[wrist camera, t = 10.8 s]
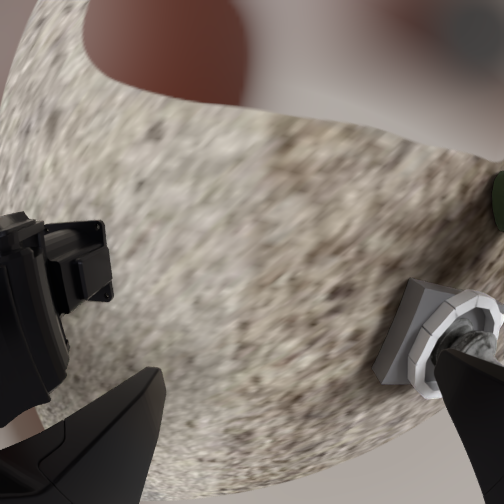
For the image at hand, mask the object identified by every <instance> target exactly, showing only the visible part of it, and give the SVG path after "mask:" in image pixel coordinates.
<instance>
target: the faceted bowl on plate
mask: <svg viewBox="0 0 504 504" xmlns="http://www.w3.org/2000/svg"><path fill="white" fill-rule="evenodd" d="M503 314H504V304H502V303H501V302H499V301H498V300H496V299H494V298H493V297H491V296H489V295H487V294H486V293H483V292H479V291H476V290H472V289H466V290H465V291H464V290H460V289H456V288H452V287H448V286H443V285H439V284H435V283H431V282H426V281H422V280H418V279H414V278H409V281H408V284H407V287H406V290H405V292H404V295H403V298H402V300H401V303H400V305H399V308H398V311H397V313H396V316H395V318H394V320H393V323H392V325H391V327H390V330H389V332H388V334H387V337H386V339H385V341H384V343H383V346H382V348H381V350H380V352H379V354H378V356H377V358H376V360H375V362H374V364H373V366H372V370H373V371H374V373H375V375H376V376H377V378H378V380H379V381H380V383H381V384H412V386H413V387H414V388H415V390H416V391H418V392H419V393H420V394H421V395H422V396H423V397H424V398H425V399H436V398H442V395H441V392H440V390H439V387H438V385H437V382H436V380H435V377H434V368H435V366H434V365H433V364H432V361H431V352H432V350H433V348H434V346H435V344H436V342H437V340H438V338H439V337H440V336H441V335H442V334H443V333H444V332H445V330H446V329H447V328H448V327H449V326H450V325H451V324H452V323H453V321H455V320H457V319H460V318H467V319H469V320H470V321H471V322H472V324H473V328H474V330H477V331H484V332H491V333H493V334H494V335H495V336H496V339H498V335H499V329H500V327H501V326H502V324H503V322H504V315H503Z"/></svg>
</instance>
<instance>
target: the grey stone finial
mask: <svg viewBox="0 0 504 504" xmlns="http://www.w3.org/2000/svg"><path fill="white" fill-rule="evenodd" d="M448 348H453V349H455V350H458V351H461V352H464V353H466V354H469V355H472V356H475V357H477V358H480V359H483V360H486V361H488V362H491V363H494V364H497V365H500V366H502V367H504V366H503V365H502V364H501V363H500V362H498V361H497V359H496V358H495V356H494V355H495V353H496V348H497V339H496V336H495V335H494V334H493V333H491V332H484V331H477V330H474V328H473V324H472V322H471V321H470V320H469V319H467V318H460V319H457V320H455V321H453V323H452V324H451V325H450V326H449V327H448V328H447V329H446V330H445V332H444V333H443V334H442V335H441V336H440V337H439V338H438V340H437V342H436V344H435V346H434V348H433V350H432V352H431V361H432V364H433V365H434V366H435V365H436V362H437V359H438V357H439V354H440V352H441V351H442V350H444V349H448Z"/></svg>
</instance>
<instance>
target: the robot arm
mask: <svg viewBox="0 0 504 504" xmlns="http://www.w3.org/2000/svg"><path fill="white" fill-rule="evenodd" d="M97 224H98V225H99V226H100V229H98V228H97ZM47 228H48V231H47ZM111 280H112V272H111V265H110V257H109V249H108V247H107V243H106V234H105V225H104V223H103V221H101V220H88V221H74V222H61V223H49V224H45V225H44V221H36V219H29V218H28V217H27V215H26V214H25V213H24V211H23V212H17V213H12V214H8V215H4V216H0V428H3V427H4V426H6V425H7V424H8V423H9V422H10V421H12V420H13V419H14V418H15V417H17V416H18V415H20V414H21V413H22V412H24V411H26V410H28V409H30V408H32V407H34V406H37V405H41V404H45V403H48V402H50V401H51V398H50V396H49V394H50V393H51V392H52V391H53V390H54V389H56V388H57V387H58V386H59V385H60V384H61V383H62V382H63V381H64V379H65V378H66V376H67V374H66V371H65V370H66V369H67V366H68V362H69V355H68V352H69V349H70V345H69V342H68V340H67V339H66V337H65V333H64V330H63V327H62V323H61V319H60V318H61V317H62V316H64V315H65V314H69V313H70V312H72V311H73V310H74V309H75V308H76V307H78V306H79V305H80V304H81V303H82V302H84V301H85V300H88V301H102V302H110V301H111V300H112V299H113V297H114V293H113V287H112V281H111ZM106 293H107V294H108V295H109V297H107V295H106ZM434 377H435V380H436V382H437V385H438V387H439V390H440V392H441V395H442V398H443V400H444V403H445V406H446V408H447V410H448V413H449V415H450V417H451V419H452V421H453V423H454V425H455V427H456V429H457V432H458V434H459V436H460V438H461V441H462V443H463V445H464V447H465V450H466V452H467V455H468V457H469V459H470V462H471V464H472V467H473V469H474V472H475V475H476V477H477V480H478V483H479V485H480V488H481V491H482V494H483V498H484V501H485V504H504V367H502V366H500V365H497V364H494V363H491V362H488V361H486V360H483V359H480V358H477V357H475V356H472V355H469V354H466V353H464V352H461V351H458V350H455V349H453V348H448V349H444V350H442V351H441V352H440V354H439V357H438V359H437V362H436V365H435V368H434ZM165 397H166V387H165V383H164V379H163V374H162V371H161V369H160V368H157V367H146V368H144V369H143V370H141V371H140V372H138V373H137V374H135V375H134V376H132V377H130V378H129V379H127V380H126V381H124V382H123V383H121V384H120V385H118V386H117V387H115V388H113V389H112V390H110V391H109V392H107V393H106V394H104V395H102V396H101V397H99V398H98V399H96V400H94V401H93V402H91V403H90V404H88V405H86V406H85V407H83V408H82V409H80V410H78V411H77V412H75V413H73V414H72V415H70V416H69V417H67V418H65V419H64V420H62V421H60V422H58V423H57V424H55V425H53V426H52V427H50V428H48V429H46V430H44V431H42V432H41V433H39V434H37V435H34V436H32V437H30V438H28V439H26V440H24V441H21V442H19V443H16V444H14V445H12V446H9V447H7V448H5V449H2V450H0V504H139V502H140V498H141V495H142V491H143V488H144V484H145V481H146V477H147V474H148V470H149V467H150V464H151V460H152V457H153V454H154V450H155V447H156V444H157V440H158V436H159V431H160V426H161V420H162V414H163V408H164V403H165Z"/></svg>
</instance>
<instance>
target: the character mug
mask: <svg viewBox="0 0 504 504" xmlns="http://www.w3.org/2000/svg"><path fill="white" fill-rule="evenodd" d="M492 206H493V212H494V217H495V222H496V224H497V227H498V229H499V230H500V231H502V232H504V171H500V173H499V174H498V175H497V177H496V178H495V180H494V185H493V190H492Z"/></svg>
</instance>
